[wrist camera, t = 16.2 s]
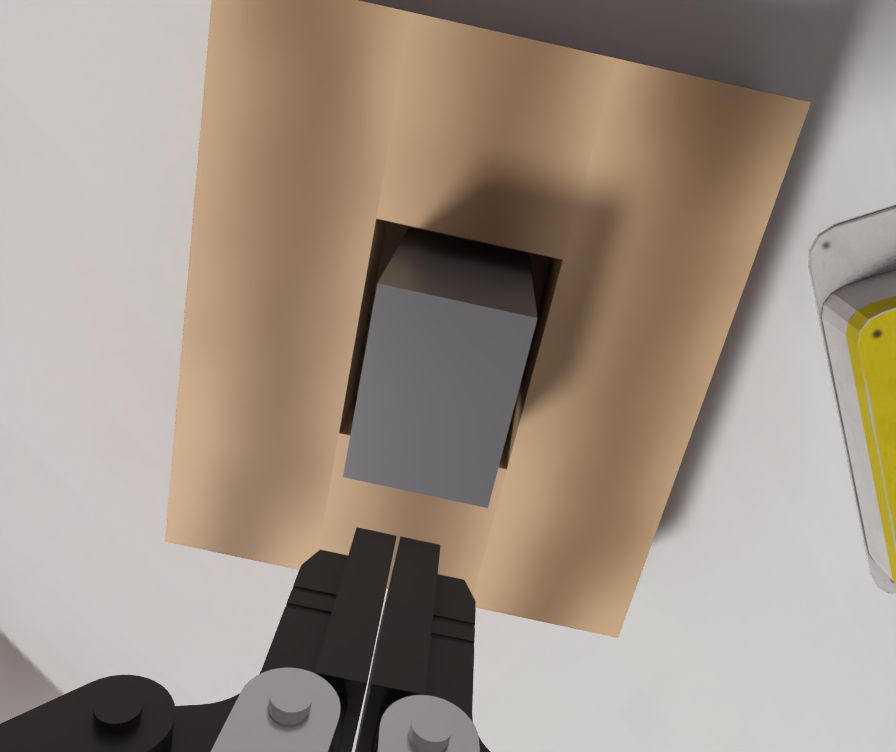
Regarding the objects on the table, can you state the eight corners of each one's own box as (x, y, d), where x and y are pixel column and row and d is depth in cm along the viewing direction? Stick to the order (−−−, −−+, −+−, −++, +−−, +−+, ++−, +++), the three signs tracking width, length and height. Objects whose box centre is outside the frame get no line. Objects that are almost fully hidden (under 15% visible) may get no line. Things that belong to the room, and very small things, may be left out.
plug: (380, 380, 28) (342, 477, 21) (408, 227, 26) (377, 283, 19) (491, 404, 28) (487, 508, 22) (528, 253, 26) (537, 318, 20)
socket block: (205, 484, 31) (165, 541, 27) (258, -19, 24) (214, -33, 21) (604, 569, 31) (617, 637, 28) (765, 95, 25) (811, 102, 21)
